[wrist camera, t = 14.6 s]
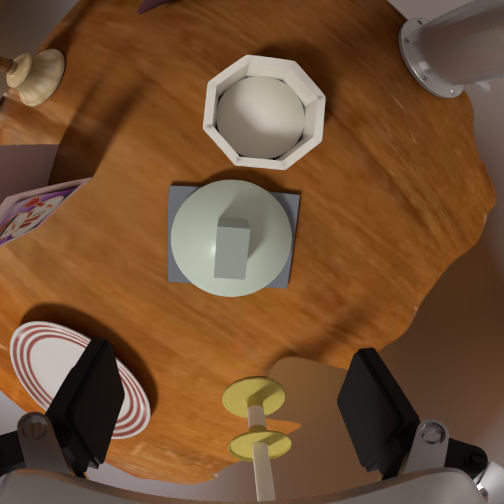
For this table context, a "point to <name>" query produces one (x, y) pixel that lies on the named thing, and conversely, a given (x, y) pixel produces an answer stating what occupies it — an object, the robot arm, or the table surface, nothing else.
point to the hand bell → (34, 75)
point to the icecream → (151, 5)
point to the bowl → (264, 112)
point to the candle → (257, 428)
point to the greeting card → (29, 189)
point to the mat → (183, 192)
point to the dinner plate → (60, 363)
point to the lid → (231, 238)
